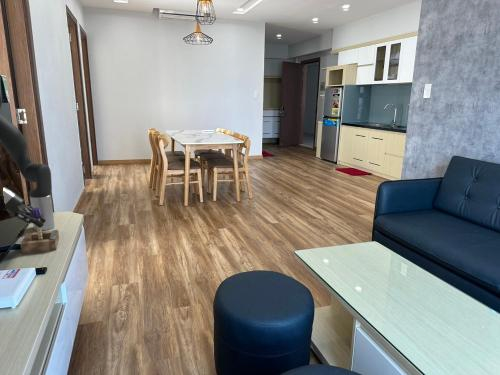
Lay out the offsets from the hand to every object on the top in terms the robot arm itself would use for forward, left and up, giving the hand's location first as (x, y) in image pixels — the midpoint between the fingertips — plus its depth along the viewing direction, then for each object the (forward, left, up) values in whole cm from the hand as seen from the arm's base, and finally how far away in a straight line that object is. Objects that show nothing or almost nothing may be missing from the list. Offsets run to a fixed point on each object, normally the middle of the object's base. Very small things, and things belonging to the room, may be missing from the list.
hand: (43, 224), depth 157 cm
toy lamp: (-1, -2, -9) cm, 10 cm away
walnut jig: (-1, -1, -10) cm, 11 cm away
